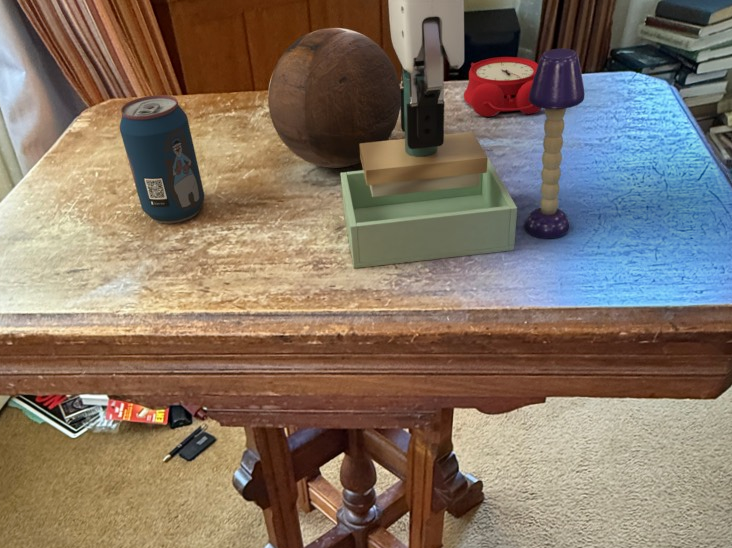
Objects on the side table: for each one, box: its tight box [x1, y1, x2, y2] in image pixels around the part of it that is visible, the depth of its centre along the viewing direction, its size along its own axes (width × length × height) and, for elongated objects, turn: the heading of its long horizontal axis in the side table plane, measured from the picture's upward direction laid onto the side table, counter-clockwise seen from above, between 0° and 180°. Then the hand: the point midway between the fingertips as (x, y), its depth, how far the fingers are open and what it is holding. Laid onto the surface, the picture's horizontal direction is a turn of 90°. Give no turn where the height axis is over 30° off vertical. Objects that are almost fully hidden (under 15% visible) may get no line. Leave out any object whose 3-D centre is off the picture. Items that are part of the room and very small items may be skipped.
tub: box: [340, 155, 518, 269], centre depth 71 cm, size 15×11×4 cm
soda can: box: [119, 94, 205, 225], centre depth 76 cm, size 7×7×12 cm
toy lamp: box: [524, 48, 585, 239], centre depth 65 cm, size 5×5×17 cm
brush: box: [359, 72, 489, 197], centre depth 65 cm, size 11×6×10 cm, turn 94°
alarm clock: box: [463, 56, 543, 118], centre depth 94 cm, size 10×6×15 cm
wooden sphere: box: [267, 27, 401, 169], centre depth 81 cm, size 15×15×15 cm
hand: (421, 136), depth 66 cm, fingers closed on brush, 3 cm apart
